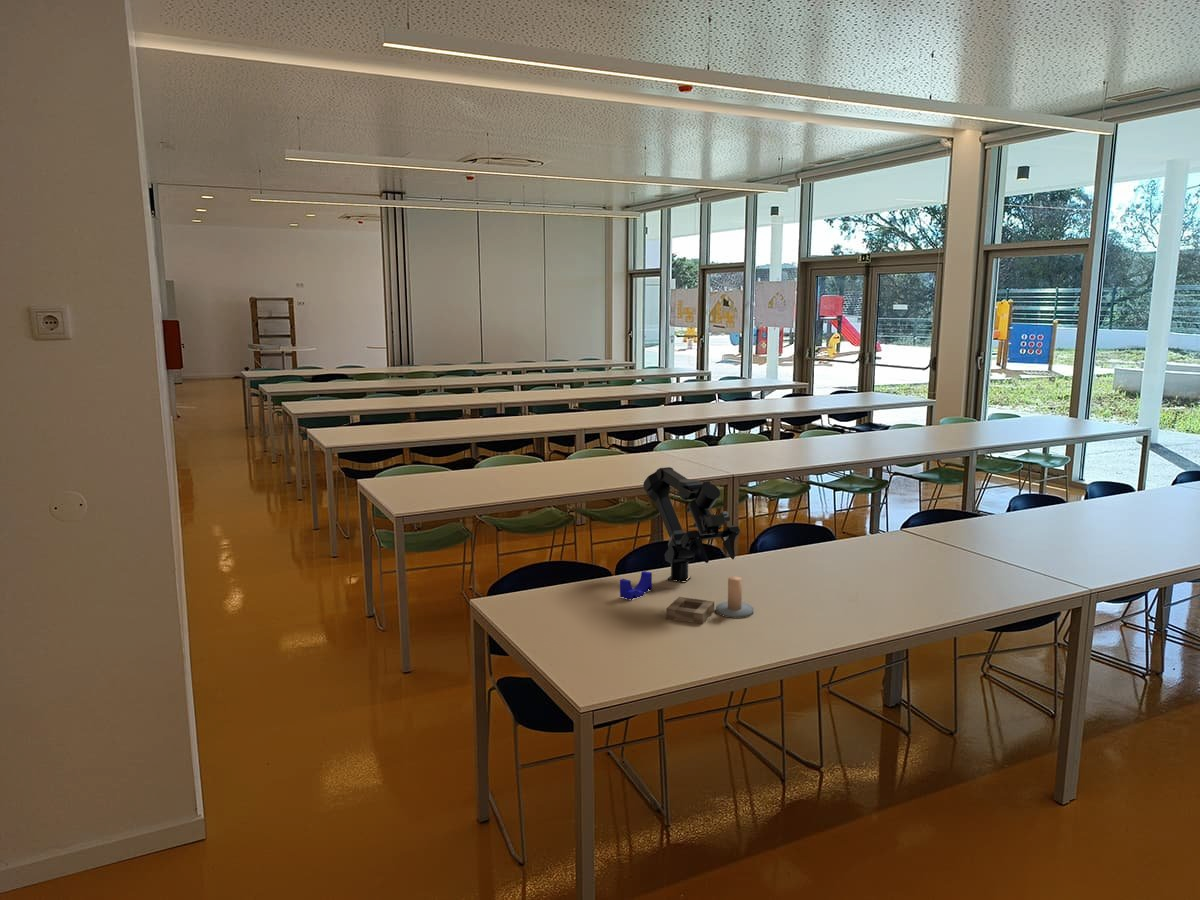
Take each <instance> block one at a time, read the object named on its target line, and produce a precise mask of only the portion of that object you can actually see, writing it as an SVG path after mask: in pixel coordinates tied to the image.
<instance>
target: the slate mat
mask: <svg viewBox="0 0 1200 900" xmlns="http://www.w3.org/2000/svg"><path fill="white" fill-rule="evenodd" d="M716 611H717V612H718V613H719V614H721V615H720V616H722V615H724V616H723V617H725V616H727V617H726V618H730V617H737V618H736V619H739V618H738V617H744V618H747V617H746V616H748V617H750V616H749V615H751V614H752V615H753V614H754V613H753V612H754V607H753V606H752V605H750V604H749V603H745V602H742V607H741V609H740V610H730V609H728V601H723V602H721V603H718V604H716V606H715V612H716ZM717 612H716V613H717ZM718 613H717V614H718ZM719 614H718V615H719ZM752 615H751V616H752Z"/></svg>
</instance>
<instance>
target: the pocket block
mask: <svg viewBox="0 0 1200 900" xmlns="http://www.w3.org/2000/svg"><path fill="white" fill-rule="evenodd" d="M713 611H714V612H715V601H711V600H705V599H699V598H692V597H691V598H690V597H683V596H678V597H677V598H675V600H673V602H672V603H670V604H669V606H667V607H666V608H665V619H666V620H667V619H668V620H674V621H680V622H685V623H687V622H689V623H694V624H699V623H701V625H704V623H705V622H706V621H707V620H708V619H709V618H710V617H711V615H712V614H713V613H714V612H713ZM709 616H710V617H709ZM708 617H709V618H708ZM707 618H708V619H707ZM706 619H707V620H706Z"/></svg>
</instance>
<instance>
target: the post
mask: <svg viewBox="0 0 1200 900" xmlns="http://www.w3.org/2000/svg"><path fill="white" fill-rule="evenodd" d="M742 583H743V578H742V577H740V576H729V577H728V578H727V602H728V609H730V610H740V609H741V607H742V603H743V601H742V599H743V597H742V596H743V595H742V592H743V588H742V587H743V584H742Z"/></svg>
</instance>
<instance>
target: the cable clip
mask: <svg viewBox="0 0 1200 900" xmlns="http://www.w3.org/2000/svg"><path fill="white" fill-rule="evenodd" d="M652 574H653V573H652V572H651V571H647V570H643V571H641V573H640V579H639V581H638V584H637V585H636V586H635V587H633V586H632V584H631V583H632V582H631V581H632V580H629V579H626V578H622V579H619V598H620V597H624V598H627V599H631V600H632V599H633V598H637V597H640V596H643V595H645V593H644V592H646V593H648V592H647V591H648V589H649V590H651V591H652V590H653V586H652V585H653V583H652V582H653V581H652V580H653V578H652V577H653V576H652ZM643 597H644V596H643ZM640 598H641V597H640Z"/></svg>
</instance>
